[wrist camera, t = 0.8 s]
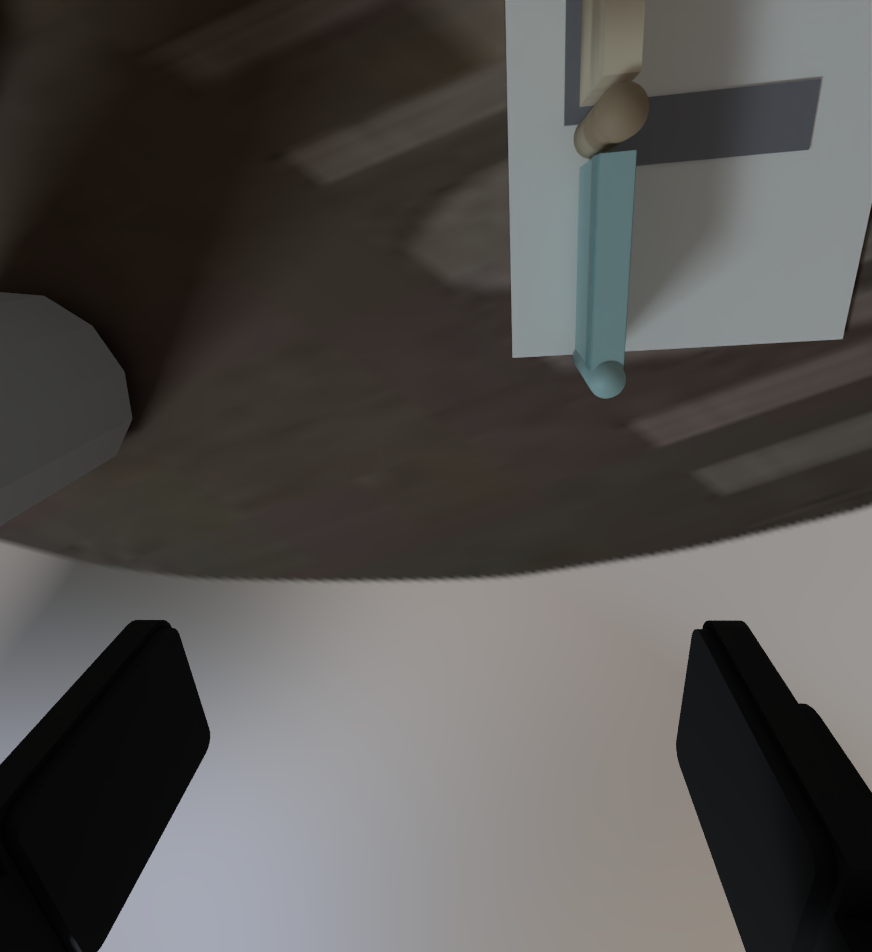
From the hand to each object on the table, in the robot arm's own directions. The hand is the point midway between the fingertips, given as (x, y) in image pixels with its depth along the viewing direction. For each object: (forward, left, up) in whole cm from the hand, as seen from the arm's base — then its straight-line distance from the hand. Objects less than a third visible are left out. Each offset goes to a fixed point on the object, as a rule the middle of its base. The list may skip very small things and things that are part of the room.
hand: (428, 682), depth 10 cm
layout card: (-10, +10, -20) cm, 24 cm away
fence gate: (-5, +6, -19) cm, 21 cm away
